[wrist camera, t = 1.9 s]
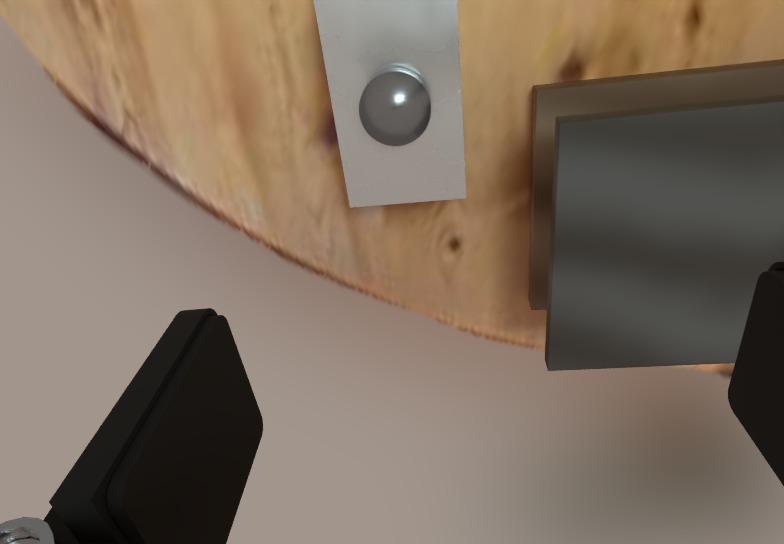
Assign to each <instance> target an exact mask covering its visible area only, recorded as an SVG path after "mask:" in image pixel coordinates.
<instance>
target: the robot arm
mask: <svg viewBox="0 0 784 544" xmlns="http://www.w3.org/2000/svg"><path fill="white" fill-rule="evenodd" d="M728 399H729V403H730V406H731V408H732V410H733V412H734V414H735V415H736V417H737V418H738V419H739V421H740V422H741V424H742V425H743V427H744V428H745V430H746V431H747V433H748V434H749V436H750V437H751V439H752V440H753V441H754V443H755V445H756V446H757V447H758V449H759V450H760V452H761V453H762V455H763V456H764V458H765V459H766V461H767V462H768V464H769V465H770V467H771V468H772V469H773V471H774V472H775V474H776V475H777V477H778V478H779V480H780V481H781V483H782V484H783V486H784V261H781V262H776V263H774V264H772V265H771V267H770V268H769V270H768V271H765V272H763V273H761V275H760V276H759V278H758V280H757V284H756V288H755V291H754V295H753V299H752V303H751V306H750V310H749V314H748V318H747V321H746V325H745V329H744V332H743V336H742V340H741V344H740V347H739V351H738V355H737V359H736V362H735V366H734V370H733V374H732V377H731V381H730V385H729V389H728ZM262 432H263V421H262V416H261V413H260V410H259V407H258V405H257V402H256V399H255V396H254V394H253V391H252V388H251V385H250V383H249V380H248V377H247V374H246V371H245V369H244V366H243V363H242V360H241V358H240V355H239V352H238V349H237V346H236V344H235V341H234V338H233V335H232V333H231V330H230V327H229V324H228V322H227V319H226V318H225V317H224V316H222V315H217V313H216V312H215V310H213V309H211V308H208V309H196V310H184V311H180V312H179V313H178V314H177V315H176V316H175V318H174V319H173V321H172V322H171V324H170V325H169V327H168V328H167V330H166V331H165V333H164V334H163V336H162V337H161V338H160V340H159V341H158V343H157V344H156V346H155V348H154V349H153V350H152V352H151V353H150V355H149V356H148V358H147V359H146V360H145V362H144V364H143V365H142V366H141V368H140V369H139V371H138V372H137V374H136V375H135V377H134V378H133V380H132V381H131V383H130V384H129V385H128V387H127V388H126V390H125V391H124V393H123V394H122V396H121V397H120V399H119V400H118V402H117V403H116V404H115V406H114V407H113V409H112V410H111V412H110V413H109V415H108V416H107V418H106V419H105V421H104V422H103V424H102V425H101V426H100V428H99V430H98V431H97V433H96V434H95V436H94V437H93V438H92V440H91V441H90V443H89V444H88V446H87V447H86V449H85V450H84V451H83V453H82V454H81V456H80V457H79V459H78V460H77V462H76V463H75V465H74V466H73V468H72V469H71V471H70V472H69V473H68V475H67V476H66V478H65V479H64V481H63V482H62V484H61V485H60V487H59V488H58V490H57V491H56V493H55V494H54V496H53V497H52V498H51V500H50V501H49V503H50V504H51V506H52V508H51V510H50V511H49V513H48V514H47V516H46V517H45V519H44V520H41V519H39V518H31V517H22V518H18V519H14V520H10V521H6V522H4V523H2V524H0V544H226V542H227V539H228V536H229V533H230V530H231V527H232V524H233V521H234V518H235V515H236V512H237V509H238V506H239V503H240V500H241V497H242V494H243V491H244V488H245V485H246V482H247V479H248V476H249V473H250V470H251V467H252V464H253V461H254V458H255V455H256V452H257V449H258V446H259V443H260V440H261V437H262Z"/></svg>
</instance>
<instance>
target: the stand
mask: <svg viewBox="0 0 784 544" xmlns="http://www.w3.org/2000/svg"><path fill="white" fill-rule="evenodd" d="M781 261H784V59H782V60H773V61H763V62H754V63H744V64H735V65H725V66H716V67H706V68H697V69H687V70H678V71H668V72H659V73H649V74H640V75H630V76H621V77H611V78H602V79H592V80H583V81H573V82H564V83H554V84H545V85H535V86H533V125H532V171H531V217H530V263H529V302H530V306H531V310H540V309H547V322H546V344H545V361H546V365H547V368H548V371H556V370H580V369H603V368H625V367H650V366H674V365H698V364H721V363H735V362H736V359H737V355H738V351H739V347H740V344H741V340H742V336H743V332H744V329H745V325H746V321H747V318H748V314H749V310H750V306H751V303H752V299H753V295H754V291H755V288H756V284H757V280H758V278H759V276H760V275H761V273H763V272H765V271H768V270H769V268H770V267H771V265H772V264H774V263H776V262H781Z"/></svg>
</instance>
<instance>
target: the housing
mask: <svg viewBox="0 0 784 544" xmlns="http://www.w3.org/2000/svg"><path fill="white" fill-rule="evenodd" d="M314 6H315V12H316V17H317V23H318V29H319V35H320V40H321V46H322V52H323V57H324V63H325V69H326V74H327V80H328V86H329V92H330V97H331V103H332V109H333V114H334V120H335V126H336V131H337V137H338V143H339V149H340V154H341V160H342V166H343V171H344V177H345V183H346V188H347V194H348V200H349V206H350V208H353V207H366V206H378V205H390V204H403V203H415V202H427V201H439V200H452V199H464V198H467V197H466V176H465V155H464V134H463V113H462V92H461V71H460V50H459V29H458V9H457V0H314Z"/></svg>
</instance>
